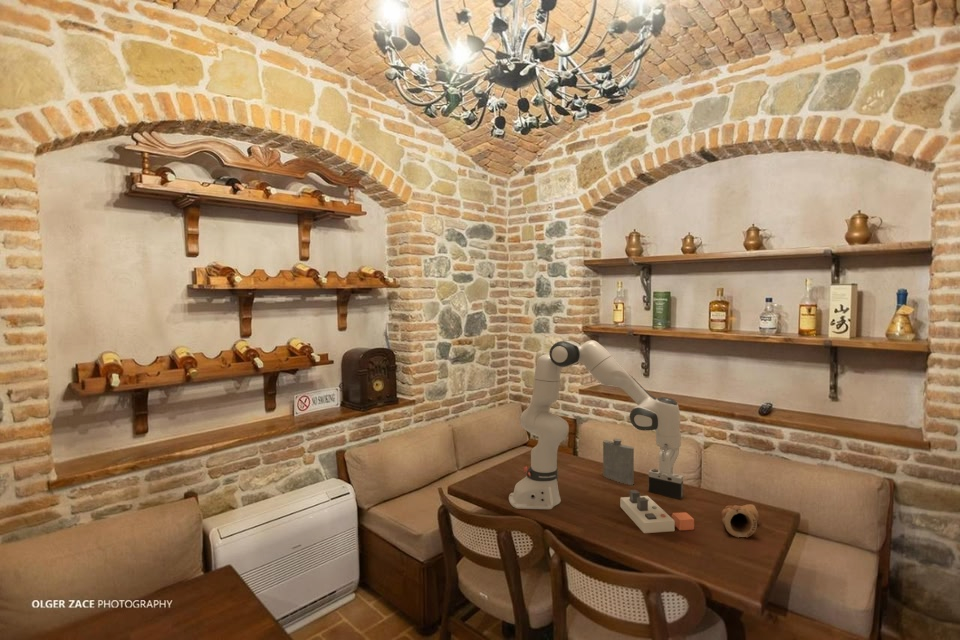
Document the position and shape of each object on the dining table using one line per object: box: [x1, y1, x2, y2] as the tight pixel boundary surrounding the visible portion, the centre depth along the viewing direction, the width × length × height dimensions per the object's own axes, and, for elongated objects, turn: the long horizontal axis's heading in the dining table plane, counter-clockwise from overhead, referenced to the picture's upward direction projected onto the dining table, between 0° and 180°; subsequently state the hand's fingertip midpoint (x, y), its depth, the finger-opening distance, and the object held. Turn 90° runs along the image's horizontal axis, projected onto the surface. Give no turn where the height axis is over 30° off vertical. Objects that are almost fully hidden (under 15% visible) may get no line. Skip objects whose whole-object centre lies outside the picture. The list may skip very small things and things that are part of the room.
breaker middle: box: [637, 497, 648, 511], centre depth 187 cm, size 3×3×4 cm
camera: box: [648, 468, 684, 500], centre depth 210 cm, size 14×8×10 cm, turn 51°
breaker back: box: [629, 489, 641, 503], centre depth 194 cm, size 3×3×4 cm
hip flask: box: [602, 438, 635, 486], centre depth 225 cm, size 16×4×20 cm, turn 42°
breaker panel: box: [619, 495, 676, 534], centre depth 187 cm, size 12×22×4 cm, turn 6°
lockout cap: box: [671, 511, 695, 531], centre depth 181 cm, size 6×6×4 cm
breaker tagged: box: [645, 513, 656, 520], centre depth 180 cm, size 3×3×4 cm
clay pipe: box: [721, 503, 760, 538], centre depth 177 cm, size 19×11×15 cm
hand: (669, 475), depth 180 cm, fingers closed
